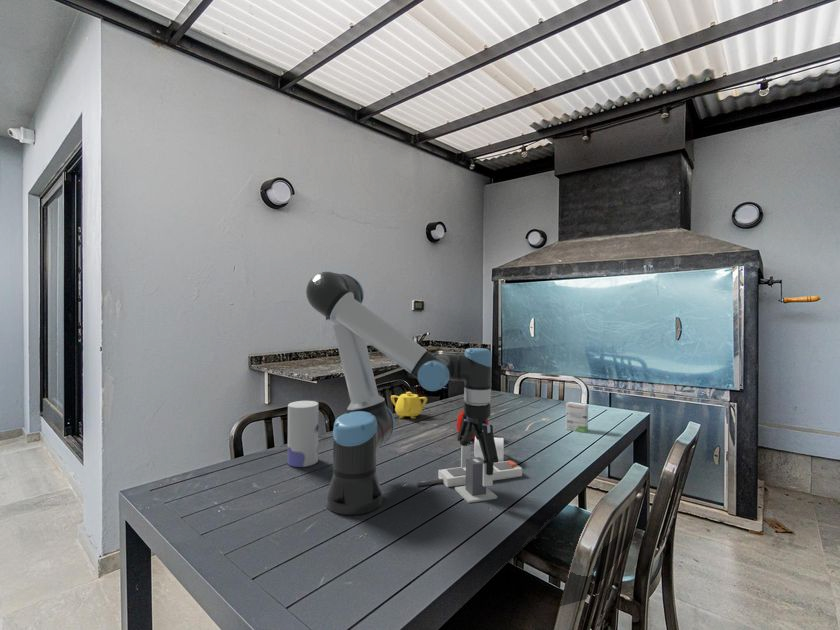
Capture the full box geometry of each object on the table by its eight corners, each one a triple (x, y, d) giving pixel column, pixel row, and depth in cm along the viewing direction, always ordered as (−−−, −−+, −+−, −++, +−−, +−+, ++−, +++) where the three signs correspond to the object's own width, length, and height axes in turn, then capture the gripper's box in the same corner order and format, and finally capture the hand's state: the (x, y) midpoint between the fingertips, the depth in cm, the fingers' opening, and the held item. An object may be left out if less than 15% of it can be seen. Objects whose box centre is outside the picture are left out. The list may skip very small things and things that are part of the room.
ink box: (588, 430, 184) (588, 403, 184) (585, 433, 180) (586, 405, 180) (568, 426, 189) (568, 401, 189) (565, 429, 185) (565, 403, 185)
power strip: (420, 491, 121) (420, 478, 121) (412, 481, 128) (412, 469, 128) (522, 476, 133) (522, 464, 133) (510, 467, 140) (510, 457, 140)
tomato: (495, 438, 171) (495, 413, 170) (470, 444, 163) (471, 417, 163) (473, 430, 182) (473, 406, 181) (449, 435, 174) (449, 410, 174)
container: (323, 461, 143) (324, 403, 142) (297, 470, 135) (298, 408, 135) (307, 454, 150) (308, 398, 149) (281, 461, 142) (282, 403, 142)
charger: (472, 496, 118) (472, 464, 117) (465, 489, 122) (465, 458, 121) (486, 493, 119) (486, 462, 119) (478, 487, 123) (479, 456, 123)
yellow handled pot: (387, 415, 203) (387, 391, 203) (411, 411, 212) (411, 388, 212) (403, 422, 192) (404, 396, 192) (428, 417, 201) (428, 393, 201)
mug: (503, 465, 142) (503, 442, 142) (473, 462, 144) (474, 440, 144) (503, 453, 154) (503, 431, 154) (476, 451, 156) (476, 429, 156)
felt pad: (468, 503, 115) (468, 500, 115) (454, 489, 123) (454, 487, 123) (497, 498, 118) (497, 496, 118) (481, 485, 126) (481, 483, 126)
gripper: (512, 412, 109) (510, 492, 110) (469, 392, 133) (468, 458, 133) (487, 414, 107) (485, 496, 107) (447, 394, 130) (446, 461, 131)
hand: (475, 475), depth 120 cm, fingers open, 13 cm apart
